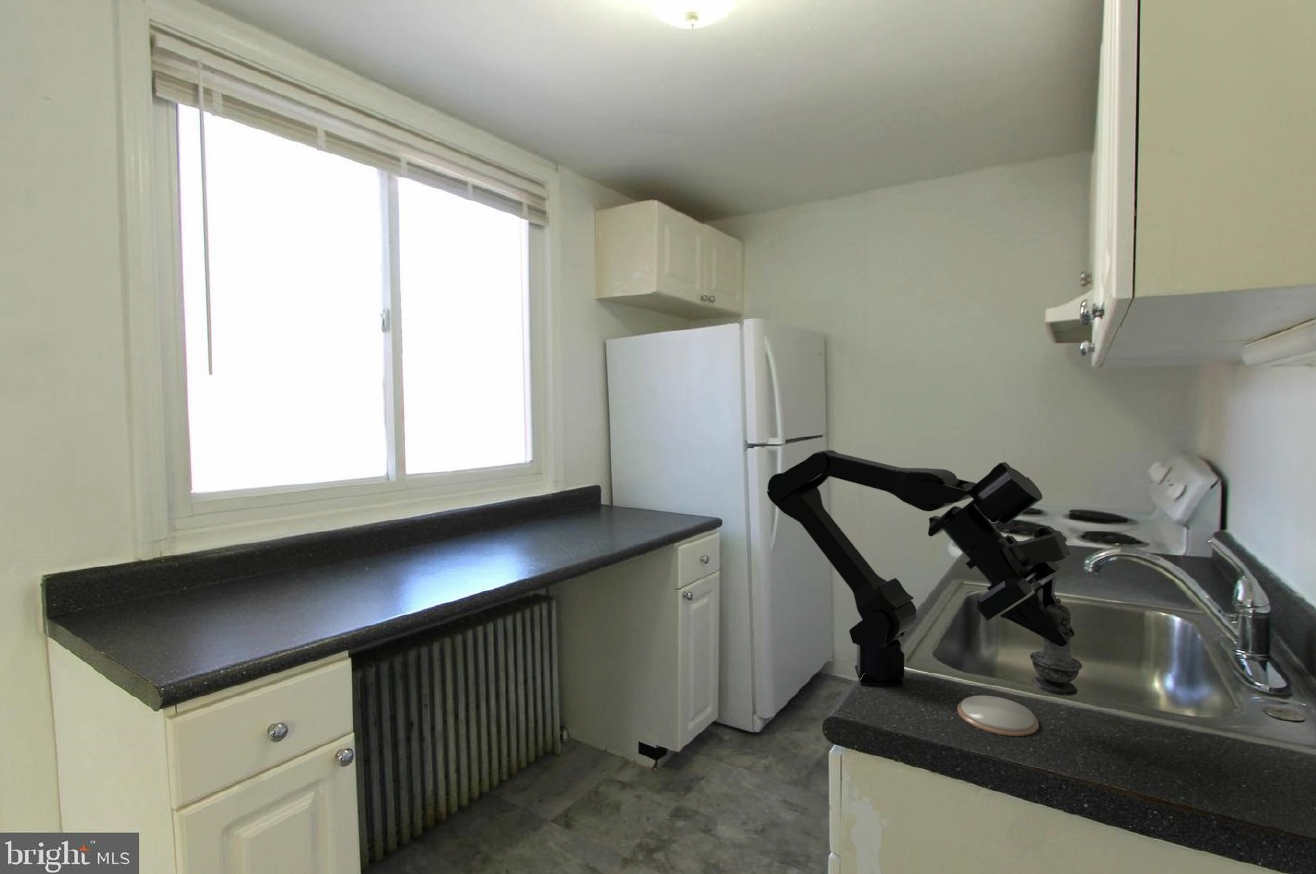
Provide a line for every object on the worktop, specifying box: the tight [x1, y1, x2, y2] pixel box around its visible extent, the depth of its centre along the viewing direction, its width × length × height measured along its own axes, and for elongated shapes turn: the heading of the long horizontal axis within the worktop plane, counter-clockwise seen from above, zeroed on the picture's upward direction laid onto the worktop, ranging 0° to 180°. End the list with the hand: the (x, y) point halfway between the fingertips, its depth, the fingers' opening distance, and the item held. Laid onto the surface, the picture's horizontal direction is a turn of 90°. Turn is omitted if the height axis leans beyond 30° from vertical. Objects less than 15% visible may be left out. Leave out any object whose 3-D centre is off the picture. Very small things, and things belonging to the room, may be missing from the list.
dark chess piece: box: [1029, 597, 1083, 697], centre depth 83 cm, size 6×6×12 cm
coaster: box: [956, 695, 1040, 737], centre depth 88 cm, size 10×10×1 cm
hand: (1068, 640), depth 82 cm, fingers closed on dark chess piece, 4 cm apart
